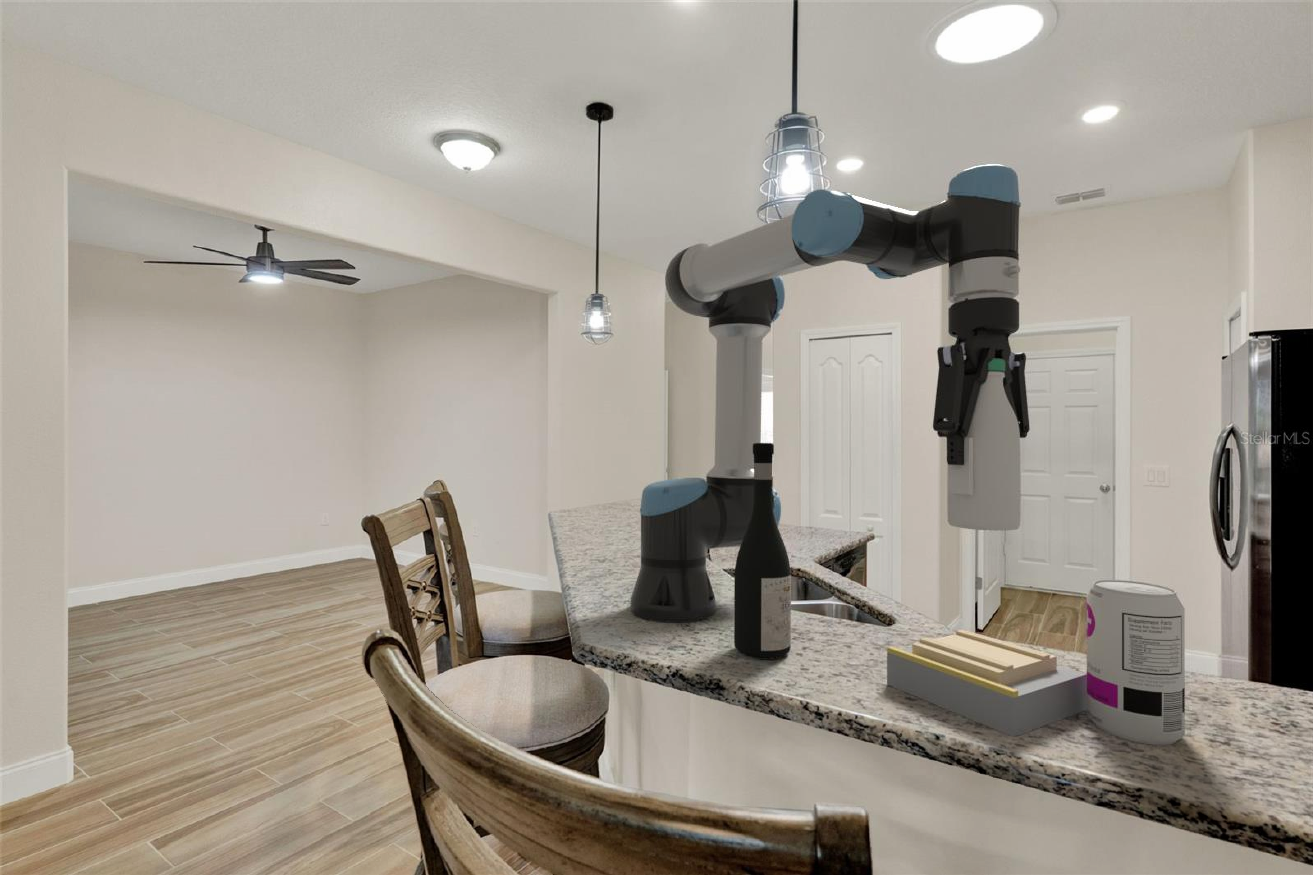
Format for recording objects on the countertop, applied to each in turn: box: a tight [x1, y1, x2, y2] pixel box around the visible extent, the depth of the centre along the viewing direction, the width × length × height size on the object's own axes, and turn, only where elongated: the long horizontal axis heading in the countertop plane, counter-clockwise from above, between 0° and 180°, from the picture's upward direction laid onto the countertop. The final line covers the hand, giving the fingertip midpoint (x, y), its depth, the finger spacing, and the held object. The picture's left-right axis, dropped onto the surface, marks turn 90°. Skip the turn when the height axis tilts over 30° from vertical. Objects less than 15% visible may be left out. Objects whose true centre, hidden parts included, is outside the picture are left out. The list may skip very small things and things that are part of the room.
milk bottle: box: [946, 358, 1022, 532], centre depth 75 cm, size 8×8×20 cm
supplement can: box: [1086, 579, 1186, 746], centre depth 66 cm, size 8×8×15 cm
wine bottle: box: [733, 442, 792, 660], centre depth 90 cm, size 8×8×30 cm
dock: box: [886, 629, 1087, 738], centre depth 75 cm, size 16×14×6 cm
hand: (982, 492), depth 75 cm, fingers closed on milk bottle, 8 cm apart
